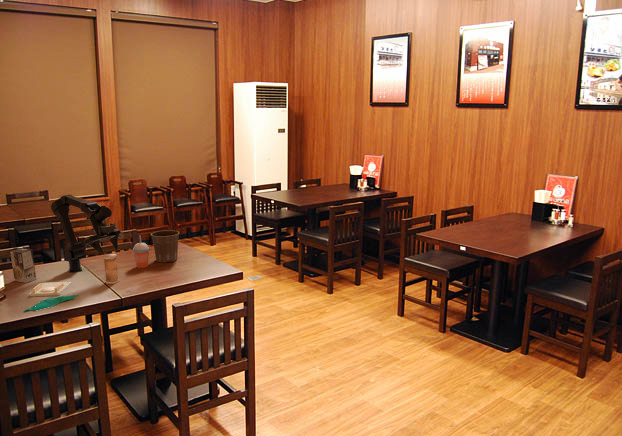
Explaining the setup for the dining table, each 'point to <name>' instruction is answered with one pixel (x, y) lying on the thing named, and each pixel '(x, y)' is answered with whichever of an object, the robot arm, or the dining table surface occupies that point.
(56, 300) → the cloth
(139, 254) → the cup with straw
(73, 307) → the dining table surface
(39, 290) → the cream square tray
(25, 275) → the coffee box
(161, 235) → the plant pot
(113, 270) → the bobbin
